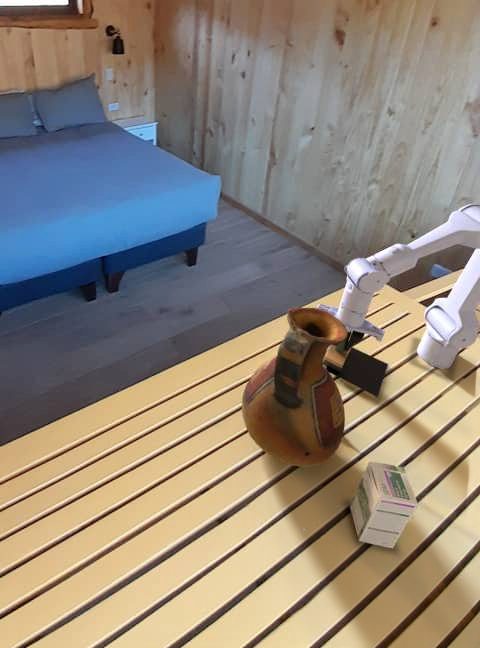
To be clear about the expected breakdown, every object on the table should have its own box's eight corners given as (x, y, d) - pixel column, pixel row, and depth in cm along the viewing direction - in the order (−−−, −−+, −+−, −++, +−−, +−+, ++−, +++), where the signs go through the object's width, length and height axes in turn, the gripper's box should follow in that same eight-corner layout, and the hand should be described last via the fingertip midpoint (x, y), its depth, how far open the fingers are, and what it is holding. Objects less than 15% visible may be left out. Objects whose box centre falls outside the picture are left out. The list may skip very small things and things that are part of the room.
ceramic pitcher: (348, 425, 88) (388, 326, 74) (315, 502, 75) (355, 399, 62) (264, 374, 100) (284, 280, 86) (222, 433, 87) (239, 333, 74)
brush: (334, 342, 107) (343, 315, 102) (350, 350, 104) (360, 323, 100) (323, 363, 101) (331, 336, 96) (340, 372, 98) (349, 345, 94)
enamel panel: (337, 344, 108) (338, 340, 107) (386, 367, 101) (387, 363, 101) (323, 374, 100) (325, 370, 99) (375, 401, 93) (377, 397, 93)
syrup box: (394, 549, 69) (422, 505, 62) (356, 541, 70) (380, 496, 63) (381, 511, 74) (406, 466, 67) (347, 504, 75) (368, 459, 68)
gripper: (317, 300, 96) (305, 340, 102) (386, 329, 88) (369, 372, 94) (325, 285, 101) (314, 324, 107) (392, 311, 92) (376, 353, 99)
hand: (340, 345), depth 101 cm, fingers closed on brush, 2 cm apart
